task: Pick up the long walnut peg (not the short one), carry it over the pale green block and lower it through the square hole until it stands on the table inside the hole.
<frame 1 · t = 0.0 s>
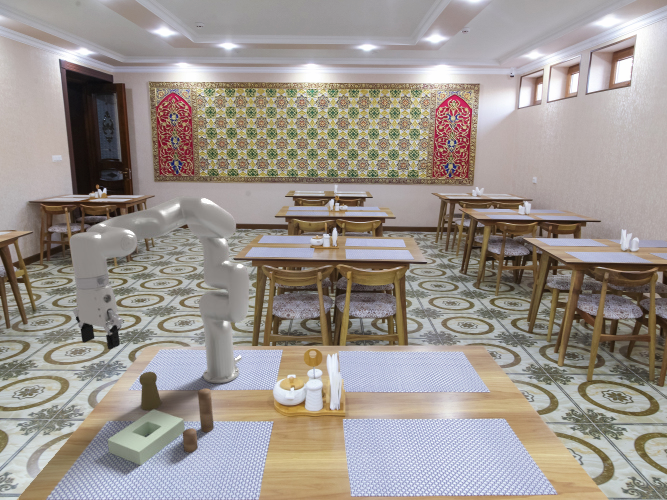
hand: (101, 343, 121), 31 cm above the table, tool pointing down, fingers open, 9 cm apart
olive brown pawn: (151, 405, 149), on the table
long peg: (207, 428, 137), on the table
hole block: (148, 441, 131), on the table
short peg: (190, 448, 128), on the table
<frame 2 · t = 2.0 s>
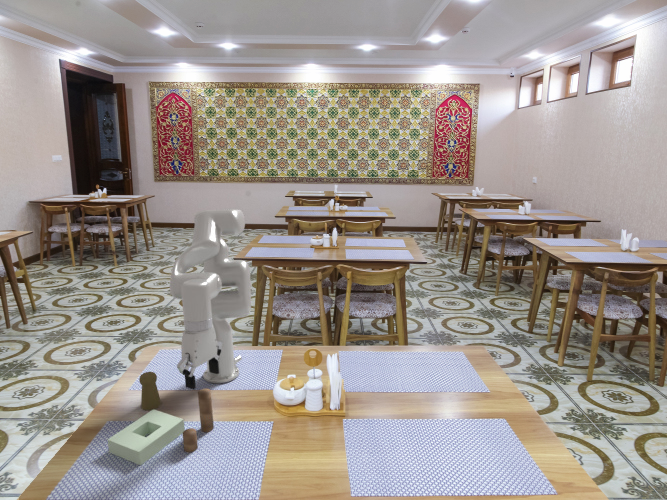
hand: (202, 380, 132), 16 cm above the table, tool pointing down, fingers open, 9 cm apart
nothing on the table moved.
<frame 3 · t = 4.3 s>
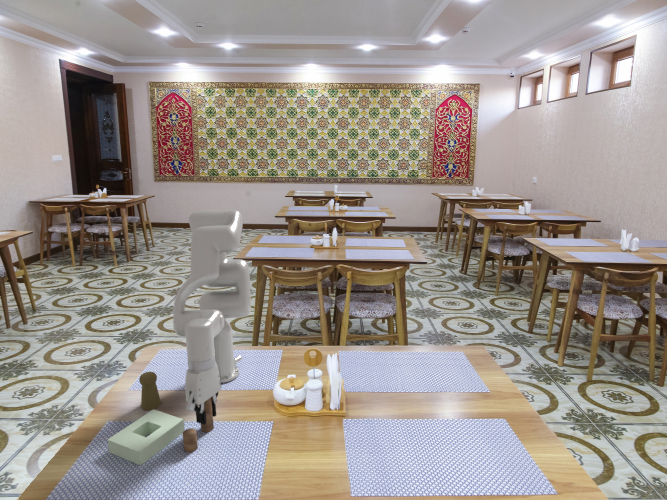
hand: (206, 418, 136), 3 cm above the table, tool pointing down, fingers closed on long peg, 3 cm apart
long peg: (207, 428, 137), on the table, touching gripper
everything else where it was.
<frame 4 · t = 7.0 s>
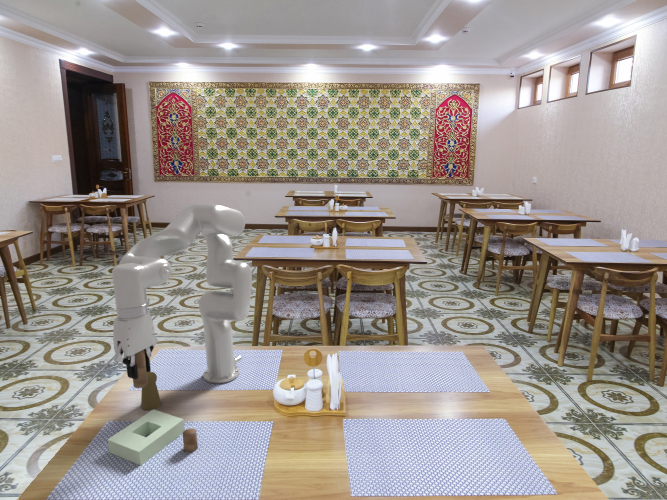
hand: (139, 373, 126), 21 cm above the table, tool pointing down, fingers closed on long peg, 3 cm apart
long peg: (140, 384, 126), point 18 cm above the table, touching gripper
everything else where it was.
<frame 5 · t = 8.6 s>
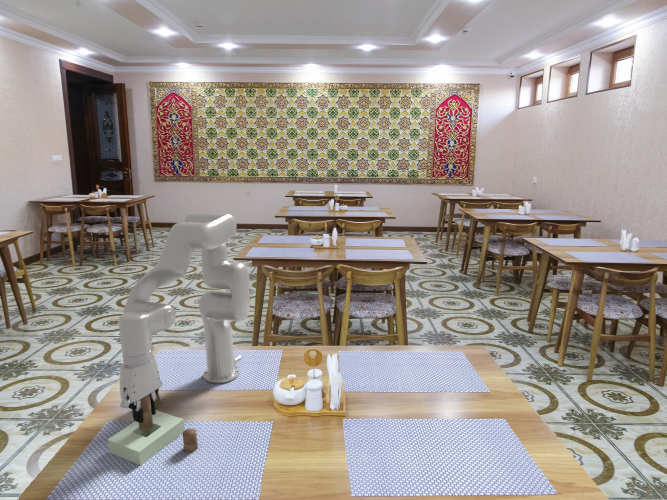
hand: (144, 416, 129), 8 cm above the table, tool pointing down, fingers closed on long peg, 3 cm apart
long peg: (146, 427, 130), point 5 cm above the table, touching gripper
everything else where it was.
when the fingers open (5 cm above the table, at t = 9.9 s): long peg drops 1 cm, resting in hole block.
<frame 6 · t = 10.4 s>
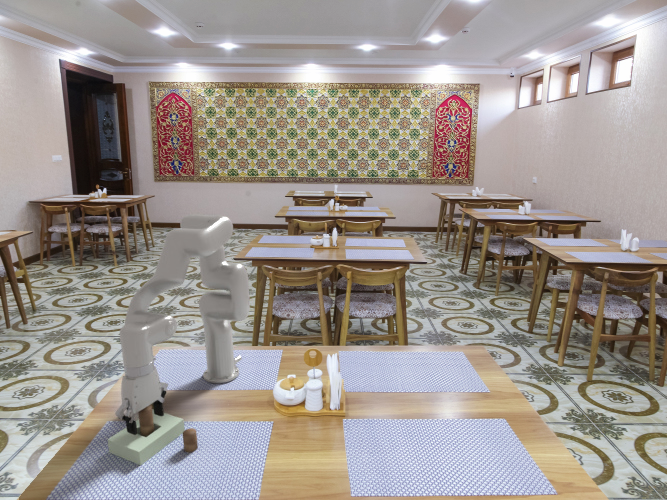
hand: (146, 423, 130), 6 cm above the table, tool pointing down, fingers open, 9 cm apart
long peg: (148, 441, 131), resting in hole block
everything else where it was.
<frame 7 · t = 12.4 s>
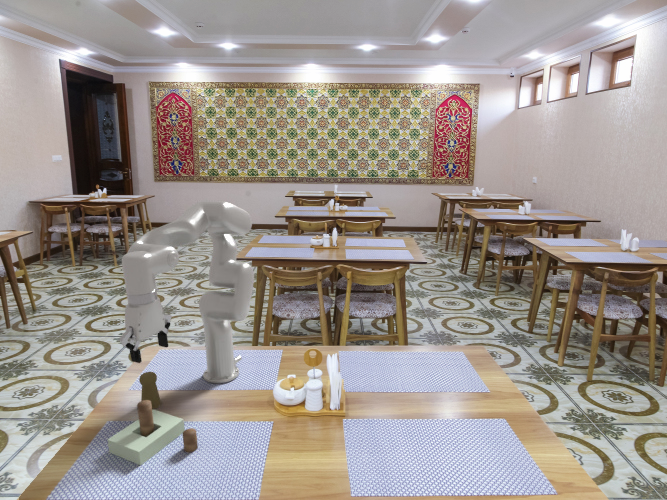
hand: (150, 353, 130), 24 cm above the table, tool pointing down, fingers open, 9 cm apart
nothing on the table moved.
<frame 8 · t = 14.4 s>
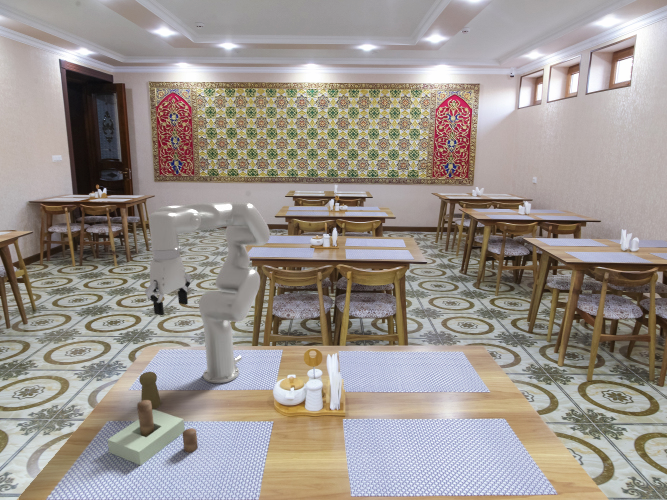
hand: (171, 308, 140), 33 cm above the table, tool pointing down, fingers open, 9 cm apart
nothing on the table moved.
at the end: long peg 0.1 cm off-centre on the hole block, point 0.0 cm above the hole block's base; long peg tilted 0°; short peg moved 0.0 cm from its start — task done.
